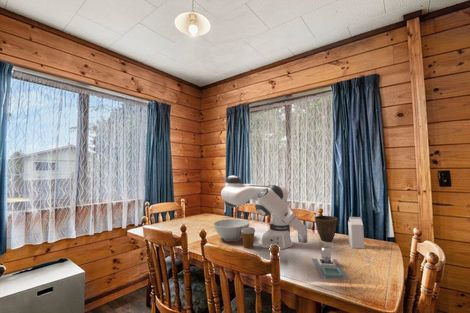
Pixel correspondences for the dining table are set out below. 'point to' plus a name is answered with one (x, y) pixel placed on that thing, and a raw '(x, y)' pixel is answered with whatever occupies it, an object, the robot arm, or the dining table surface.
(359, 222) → the milk carton
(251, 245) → the disposable coffee cup
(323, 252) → the grey tall round-topped piece
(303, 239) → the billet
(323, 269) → the grey flat plate
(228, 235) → the decorative bowl
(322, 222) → the plant pot
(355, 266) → the dining table surface
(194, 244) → the dining table surface
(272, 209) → the robot arm
